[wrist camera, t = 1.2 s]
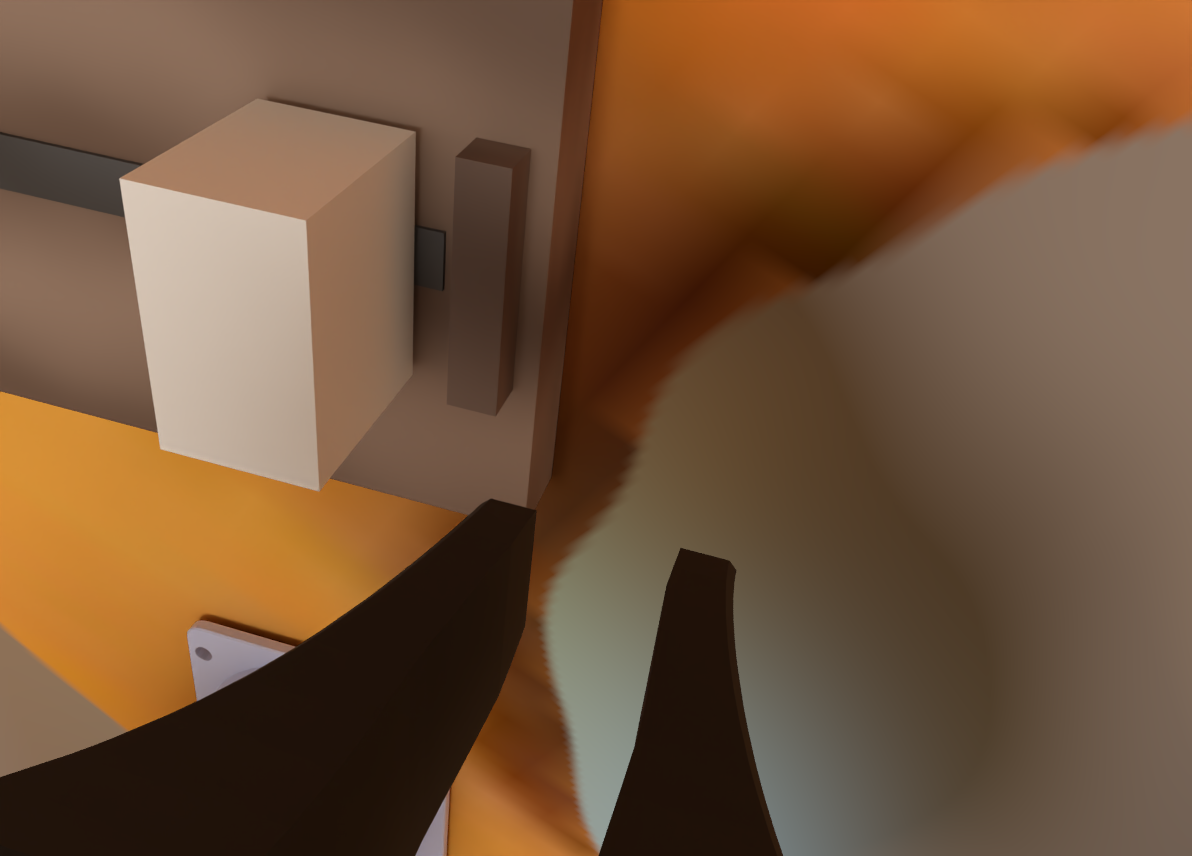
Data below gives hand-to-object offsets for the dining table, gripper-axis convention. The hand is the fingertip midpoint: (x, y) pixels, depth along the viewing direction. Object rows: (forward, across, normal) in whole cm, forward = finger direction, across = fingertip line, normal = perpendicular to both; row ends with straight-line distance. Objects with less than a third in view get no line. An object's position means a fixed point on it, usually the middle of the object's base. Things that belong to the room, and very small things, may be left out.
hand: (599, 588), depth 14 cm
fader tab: (+7, +7, 0) cm, 10 cm away
